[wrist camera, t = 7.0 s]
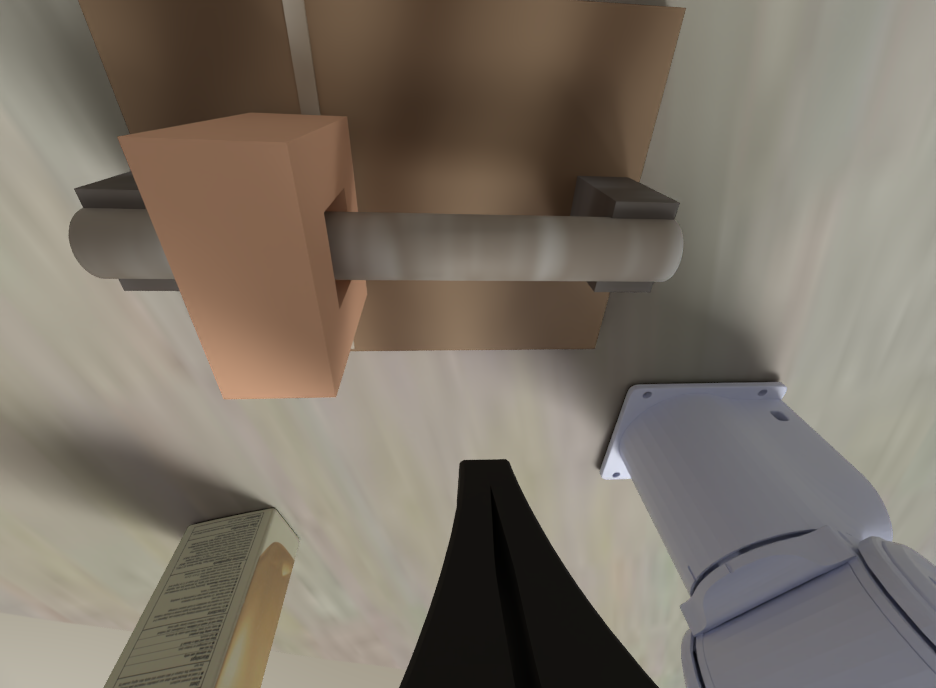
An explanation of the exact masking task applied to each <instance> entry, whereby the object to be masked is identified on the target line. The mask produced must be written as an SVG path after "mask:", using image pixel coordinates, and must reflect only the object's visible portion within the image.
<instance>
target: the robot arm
mask: <svg viewBox="0 0 936 688" xmlns="http://www.w3.org/2000/svg"><path fill="white" fill-rule="evenodd" d="M786 391H787V387H786V386H785V385H784V384H783V383H781V382H748V383H692V384H638V385H634V386H632V387H631V388H630V389H629V390H628V392H627V395H626V398H625V400H624V403H623V406H622V409H621V412H620V415H619V418H618V420H617V423H616V426H615V429H614V432H613V435H612V438H611V440H610V443H609V446H608V449H607V452H606V455H605V458H604V460H603V463H602V466H601V469H600V475H601V477H602V478H603V479H607V480H609V479H632V481H633V483H634V485H635V487H636V489H637V491H638V493H639V495H640V497H641V499H642V501H643V503H644V505H645V507H646V509H647V511H648V513H649V515H650V517H651V519H652V521H653V523H654V525H655V527H656V529H657V531H658V533H659V535H660V537H661V539H662V541H663V543H664V545H665V547H666V549H667V551H668V553H669V555H670V557H671V559H672V561H673V563H674V565H675V567H676V569H677V571H678V573H679V575H680V577H681V579H682V581H683V583H684V585H685V587H686V589H687V591H688V593H689V595H690V597H691V598H690V599H689V600H687V601H686V602H685V603H683V604H681V605H680V609H681V611H682V613H683V615H684V617H685V619H686V621H687V623H688V626H689V628H690V629H689V630H687V631H686V633H685V635H684V637H683V639H682V644H681V659H682V666H683V673H684V679H685V684H686V688H936V566H935V565H934V564H932V563H931V562H930V561H928V560H927V559H926V558H924V557H923V556H922V555H920V554H919V553H918V552H916V551H915V550H913V549H912V548H910V547H908V546H906V545H903V544H899V543H895V542H892V538H893V530H892V524H891V521H890V517H889V515H888V512H887V509H886V507H885V505H884V503H883V501H882V499H881V498H880V496H879V494H878V493H877V491H876V490H875V488H874V487H873V486H872V485H871V483H870V482H869V481H868V480H867V479H866V478H865V477H864V476H863V475H862V474H861V473H860V472H859V471H858V470H857V469H856V468H855V467H854V466H853V465H852V464H851V463H849V462H848V461H847V460H846V459H845V458H844V457H843V456H842V455H841V454H840V453H839V452H837V451H836V450H835V449H834V448H833V447H832V446H831V445H830V444H829V443H828V442H827V441H825V440H824V439H823V438H822V437H821V436H820V435H819V434H818V433H817V432H816V431H815V430H813V429H812V428H811V427H810V426H809V425H808V424H807V423H806V422H805V421H804V420H803V419H802V418H800V417H799V416H798V415H797V414H796V413H795V412H794V411H793V410H792V409H791V408H790V407H788V406H787V405H786V404H785V403H784V402H783V401H782V400H781V399H782V398H783V396H784V394H785V393H786ZM645 392H647V393H645ZM644 393H645V394H644ZM399 688H659V687H658V686H657V685H656V684H655V683H654V682H653V681H652V679H651V678H650V677H649V676H648V675H647V674H646V673H645V671H644V670H643V669H642V668H641V667H640V665H639V664H638V663H637V662H636V660H635V659H634V658H633V657H632V656H631V654H630V653H629V652H628V651H627V649H626V648H625V647H624V646H623V645H622V643H621V642H620V641H619V640H618V638H617V637H616V636H615V635H614V634H613V632H612V631H611V630H610V629H609V627H608V626H607V625H606V623H605V622H604V621H603V619H602V618H601V617H600V615H599V614H598V613H597V611H596V610H595V609H594V608H593V606H592V605H591V603H590V602H589V601H588V599H587V598H586V596H585V595H584V594H583V592H582V591H581V589H580V588H579V587H578V585H577V584H576V582H575V581H574V579H573V578H572V576H571V575H570V573H569V572H568V570H567V569H566V567H565V566H564V564H563V563H562V561H561V559H560V558H559V556H558V555H557V553H556V552H555V550H554V548H553V547H552V545H551V543H550V542H549V540H548V538H547V537H546V535H545V533H544V531H543V530H542V528H541V526H540V524H539V523H538V521H537V519H536V517H535V516H534V514H533V512H532V510H531V508H530V506H529V504H528V502H527V500H526V498H525V496H524V494H523V492H522V490H521V488H520V486H519V484H518V482H517V480H516V477H515V475H514V473H513V470H512V468H511V465H510V463H509V461H507V460H506V459H499V460H463V461H462V462H460V466H459V480H458V494H457V508H456V513H455V518H454V523H453V528H452V533H451V537H450V541H449V545H448V548H447V552H446V556H445V560H444V563H443V567H442V571H441V574H440V577H439V580H438V584H437V587H436V590H435V593H434V596H433V599H432V602H431V605H430V608H429V611H428V614H427V617H426V620H425V622H424V625H423V628H422V631H421V633H420V636H419V639H418V642H417V644H416V647H415V650H414V652H413V655H412V657H411V660H410V663H409V665H408V667H407V670H406V672H405V675H404V677H403V680H402V682H401V685H400V687H399Z"/></svg>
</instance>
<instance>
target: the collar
mask: <svg viewBox="0 0 936 688" xmlns="http://www.w3.org/2000/svg"><path fill="white" fill-rule="evenodd" d="M118 140H119V142H120V145H121V147H122V150H123V152H124V155H125V157H126V160H127V162H128V165H129V167H130V169H131V172H132V174H133V177H134V179H135V182H136V184H137V187H138V189H139V192H140V194H141V197H142V199H143V201H144V204H145V206H146V209H147V211H148V214H149V216H150V219H151V221H152V224H153V226H154V229H155V231H156V233H157V236H158V238H159V241H160V243H161V246H162V248H163V251H164V253H165V256H166V258H167V261H168V263H169V265H170V268H171V270H172V273H173V275H174V278H175V280H176V283H177V285H178V288H179V290H180V293H181V295H182V297H183V300H184V302H185V305H186V307H187V310H188V312H189V315H190V317H191V320H192V322H193V325H194V327H195V329H196V332H197V334H198V337H199V339H200V342H201V344H202V347H203V349H204V352H205V354H206V357H207V359H208V361H209V364H210V366H211V369H212V371H213V374H214V376H215V379H216V381H217V384H218V386H219V389H220V391H221V393H222V396H223V398H224V399H264V398H316V397H336V396H337V392H338V389H339V386H340V382H341V379H342V376H343V373H344V369H345V366H346V363H347V359H348V356H349V353H350V349H351V346H352V343H353V340H354V336H355V333H356V330H357V326H358V323H359V320H360V316H361V313H362V310H363V306H364V303H365V300H366V297H367V287H366V280H335V278H334V272H333V266H332V260H331V253H330V247H329V241H328V235H327V228H326V222H325V216H324V212H325V211H332V212H358V208H357V199H356V190H355V181H354V172H353V163H352V155H351V146H350V137H349V128H348V119H347V116H325V115H300V114H275V113H245V114H240V115H234V116H229V117H223V118H218V119H212V120H207V121H201V122H196V123H190V124H185V125H179V126H174V127H168V128H163V129H157V130H152V131H146V132H141V133H135V134H130V135H124V136H118Z"/></svg>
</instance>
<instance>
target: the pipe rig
mask: <svg viewBox="0 0 936 688" xmlns="http://www.w3.org/2000/svg"><path fill="white" fill-rule="evenodd" d="M78 1H79V4H80V6H81V9H82V12H83V14H84V17H85V19H86V22H87V24H88V27H89V30H90V32H91V35H92V37H93V40H94V42H95V45H96V48H97V50H98V53H99V55H100V58H101V60H102V63H103V66H104V68H105V71H106V73H107V76H108V79H109V81H110V84H111V86H112V89H113V91H114V94H115V97H116V99H117V102H118V104H119V107H120V109H121V112H122V115H123V117H124V120H125V122H126V125H127V127H128V130H129V133H130V134H135V133H141V132H146V131H152V130H157V129H163V128H168V127H174V126H179V125H185V124H190V123H196V122H201V121H207V120H212V119H218V118H223V117H229V116H234V115H240V114H245V113H275V114H300V115H325V116H347V119H348V128H349V137H350V146H351V155H352V163H353V172H354V181H355V190H356V199H357V208H358V212H332V211H325V212H324V216H325V222H326V228H327V235H328V241H329V247H330V253H331V260H332V266H333V272H334V278H335V280H366V287H367V297H366V300H365V303H364V306H363V310H362V313H361V316H360V320H359V323H358V326H357V330H356V333H355V336H354V340H353V343H352V346H351V349H350V351H417V350H521V349H595V346H596V342H597V339H598V335H599V331H600V327H601V324H602V320H603V316H604V313H605V309H606V305H607V301H608V298H609V294H610V292H651V289H652V286H653V283H654V282H664V281H666V280H668V279H670V278H671V277H672V276H673V275H674V273H675V272H676V270H677V269H678V267H679V264H680V261H681V258H682V254H683V246H684V240H683V233H682V230H681V227H680V225H679V224H678V222H677V221H676V220H674V219H675V216H676V213H677V210H678V207H679V204H680V203H679V202H677V201H675V200H673V199H671V198H669V197H667V196H665V195H663V194H661V193H659V192H657V191H655V190H653V189H651V188H649V187H647V186H645V185H643V184H641V183H639V182H640V178H641V174H642V171H643V167H644V163H645V159H646V156H647V152H648V148H649V145H650V141H651V137H652V133H653V130H654V126H655V122H656V118H657V115H658V111H659V107H660V103H661V100H662V96H663V92H664V89H665V85H666V81H667V77H668V74H669V70H670V66H671V62H672V59H673V55H674V51H675V47H676V44H677V40H678V36H679V33H680V29H681V25H682V21H683V18H684V14H685V10H686V8H681V7H666V6H652V5H637V4H622V3H608V2H593V1H579V0H78ZM74 190H75V192H76V194H77V196H78V198H79V200H80V202H81V204H82V206H83V208H82V209H80V210H79V211H77V212H76V213H75V215H74V216H73V218H72V220H71V222H70V226H69V242H70V246H71V249H72V252H73V254H74V256H75V258H76V259H77V261H78V262H79V263H80V265H81V266H82V267H83V268H84V269H85V270H86V271H87V272H89V273H90V274H92V275H94V276H96V277H99V278H103V279H119V281H120V283H121V285H122V287H123V289H124V291H180V290H179V288H178V285H177V283H176V280H175V278H174V275H173V273H172V270H171V268H170V265H169V263H168V261H167V258H166V256H165V253H164V251H163V248H162V246H161V243H160V241H159V238H158V236H157V233H156V231H155V229H154V226H153V224H152V221H151V219H150V216H149V214H148V211H147V209H146V206H145V204H144V201H143V199H142V197H141V194H140V192H139V189H138V187H137V184H136V182H135V179H134V177H133V174H132V172H127V173H124V174H121V175H117V176H114V177H111V178H108V179H104V180H101V181H98V182H94V183H91V184H88V185H85V186H81V187H78V188H75V189H74Z"/></svg>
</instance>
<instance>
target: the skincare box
mask: <svg viewBox="0 0 936 688" xmlns="http://www.w3.org/2000/svg"><path fill="white" fill-rule="evenodd" d="M299 542H300V540H299V539H298V537H297V536H296V535H295V533H294V532H293V531H292V529H291V528H290V527H289V525H288V524H287V523H286V521H285V520H284V519H283V518H282V517H281V515H280V514H279V513H278V511H277V510H276V509H273V508H271V509H266V510H260V511H255V512H250V513H245V514H240V515H235V516H231V517H226V518H221V519H216V520H212V521H207V522H203V523H199V524H194V525H190V526H189V527H188V528H187V530H186V532H185V534H184V535H183V537H182V539H181V541H180V543H179V545H178V547H177V549H176V551H175V553H174V554H173V556H172V558H171V560H170V562H169V564H168V566H167V568H166V570H165V572H164V574H163V575H162V577H161V579H160V581H159V583H158V585H157V587H156V589H155V591H154V593H153V595H152V596H151V598H150V600H149V602H148V604H147V606H146V608H145V610H144V612H143V614H142V615H141V617H140V619H139V621H138V623H137V625H136V627H135V629H134V631H133V633H132V635H131V637H130V638H129V640H128V643H127V644H126V646H125V648H124V650H123V652H122V654H121V656H120V657H119V659H118V661H117V663H116V665H115V667H114V669H113V671H112V673H111V675H110V676H109V678H108V680H107V682H106V684H105V686H104V688H260V687H261V683H262V680H263V676H264V672H265V668H266V665H267V661H268V657H269V653H270V650H271V646H272V643H273V639H274V635H275V632H276V628H277V624H278V620H279V617H280V613H281V609H282V605H283V602H284V598H285V594H286V590H287V586H288V583H289V579H290V575H291V572H292V568H293V564H294V561H295V557H296V553H297V549H298V546H299Z"/></svg>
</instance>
